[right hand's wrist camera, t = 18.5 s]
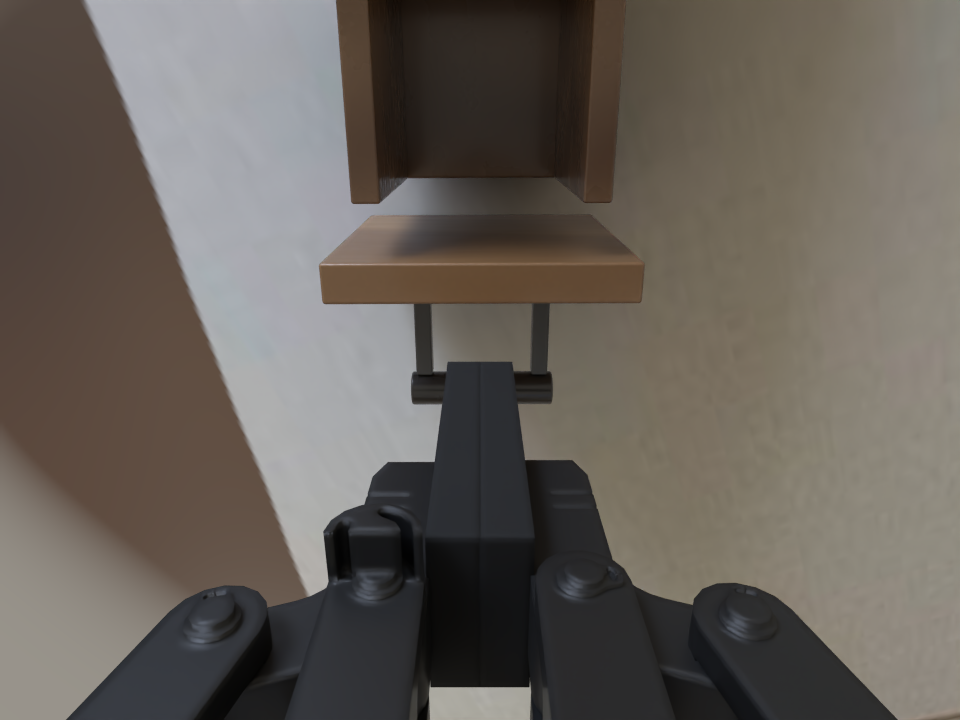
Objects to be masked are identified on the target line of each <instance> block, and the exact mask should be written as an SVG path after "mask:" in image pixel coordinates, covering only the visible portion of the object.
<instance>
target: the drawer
mask: <svg viewBox="0 0 960 720" xmlns="http://www.w3.org/2000/svg"><path fill="white" fill-rule="evenodd" d="M336 6H337V20H338V33H339V46H340V59H341V72H342V86H343V99H344V112H345V125H346V139H347V152H348V165H349V178H350V191H351V202H352V203H353V204H379V203H380V202H381V201H383V200H384V199H385V198H386V197H387V196H388V195H389V194H390V193H392V192H393V191H394V190H395V189H396V188H397V187H398V186H399V185H401V184H402V183H403V182H404V181H405V180H406V179H407V178H556V179H557V180H558V181H560V182H561V183H562V184H563V185H564V186H565V187H567V188H568V189H569V190H570V191H571V192H573V193H574V194H575V195H576V196H577V197H578V198H580V199H581V200H582V201H583V202H585V203H610V202H611V201H612V195H613V181H614V167H615V153H616V139H617V125H618V110H619V96H620V82H621V68H622V54H623V40H624V25H625V11H626V0H336ZM644 269H645V264H644V262H643V261H642V260H641V259H639V258H638V257H637V256H636V255H635V254H634V253H633V252H632V251H631V250H630V249H628V248H627V247H626V246H625V245H624V244H623V243H622V242H621V241H620V240H618V239H617V238H616V237H615V236H614V235H613V234H612V233H611V232H610V231H608V230H607V229H606V228H605V227H604V226H603V225H602V224H601V223H600V222H599V221H597V220H596V219H595V218H594V217H593V216H592V215H389V216H371V217H369V218H368V219H367V220H366V221H365V222H364V223H363V224H362V225H361V226H360V227H359V228H358V229H357V230H356V231H354V232H353V233H352V234H351V235H350V236H349V237H348V238H347V239H346V240H345V241H344V242H343V243H342V244H341V245H339V246H338V247H337V248H336V249H335V250H334V251H333V252H332V253H331V254H330V255H329V256H328V257H327V258H326V259H324V260H323V261H322V262H321V263H320V265H319V270H320V281H321V291H322V301H323V303H324V304H414V320H415V344H416V367H417V372H413V373H412V380H411V397H412V403H413V404H442V403H443V395H444V388H445V380H446V372H447V371H433V369H434V367H433V337H432V306H431V304H508V303H532V321H531V358H530V370H531V371H513V372H514V380H515V388H516V395H517V403H518V404H551V402H552V396H553V381H552V374H551V372H550V371H547V361H548V335H549V308H550V303H640V302H641V300H642V290H643V279H644Z"/></svg>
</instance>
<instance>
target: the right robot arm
mask: <svg viewBox="0 0 960 720" xmlns="http://www.w3.org/2000/svg"><path fill="white" fill-rule="evenodd" d="M323 532H324V542H325V551H326V560H327V570H328V579H329V582H328V585H327V588H325V589H324V590H322V591H320V592H318V593H316V594H314V595H312V596H310V597H307V598H304V599H301V600H298V601H294V602H290V603H285V604H281V605H277V606H273V607H268V608H267V602H266V601H265V599H264V598H263V597H262V596H261V595H260V593H259V592H258V591H255V590H252V589H250V588H247V587H245V586H221V587H216V588H212V589H208V590H204V591H202V592H200V593H197V594H195V595H193V596H191V597H189V598H187V599H185V600H184V601H182V602H181V603H180V604H179V605H177V606H176V607H175V608H174V609H172V610H171V611H170V612H169V613H168V614H167V615H166V616H165V617H164V618H163V619H162V620H161V621H160V622H159V623H158V624H157V625H156V626H155V627H154V628H153V629H152V631H151V632H150V633H149V634H148V635H147V636H146V637H145V638H144V639H143V640H142V641H141V642H140V643H139V644H138V645H137V646H136V647H135V648H134V649H133V650H132V651H131V652H130V654H129V655H128V656H127V657H126V658H125V659H124V660H123V661H122V662H121V663H120V664H119V665H118V666H117V667H116V668H115V669H114V670H113V671H112V672H111V673H110V674H109V675H108V677H107V678H106V679H105V680H104V681H103V682H102V683H101V684H100V685H99V686H98V687H97V688H96V689H95V690H94V691H93V692H92V693H91V694H90V695H89V696H88V697H87V699H86V700H85V701H84V702H83V703H82V704H81V705H80V706H79V707H78V708H77V709H76V710H75V711H74V712H73V713H72V714H71V715H70V716H69V717H68V718H67V719H66V720H430V711H429V687H430V685H431V687H529V685H530V684H531V711H530V720H897V719H896V717H895V716H894V715H893V714H892V713H891V712H890V711H889V710H888V709H887V708H886V707H885V706H884V705H883V704H882V703H881V702H880V701H879V700H878V699H877V698H876V697H875V696H874V695H873V694H872V693H871V692H870V690H869V689H868V688H867V687H866V686H865V685H864V684H863V683H862V682H861V681H860V680H859V679H858V678H857V677H856V676H855V675H854V674H853V673H852V672H851V671H850V670H849V669H848V668H847V667H846V666H845V664H844V663H843V662H842V661H841V660H840V659H839V658H838V657H837V656H836V655H835V654H834V653H833V652H832V651H831V650H830V649H829V648H828V647H827V646H826V645H825V644H824V643H823V642H822V641H821V640H820V638H819V637H818V636H817V635H816V634H815V633H814V632H813V631H812V630H811V629H810V628H809V627H808V626H807V625H806V624H805V623H804V622H803V621H802V620H801V619H800V618H799V617H798V616H797V615H796V614H795V612H794V611H793V610H792V609H790V608H789V607H788V606H787V605H785V604H784V603H783V602H782V601H780V600H779V599H778V598H776V597H775V596H773V595H771V594H769V593H767V592H764V591H762V590H760V589H758V588H756V587H751V586H747V585H742V584H738V583H717V584H714V585H712V586H709V587H706V588H704V589H702V590H701V591H700V593H699V594H698V595H697V596H696V597H695V598H694V602H693V605H690V604H685V603H681V602H677V601H673V600H669V599H664V598H661V597H658V596H655V595H652V594H649V593H647V592H645V591H643V590H641V589H639V588H637V587H635V586H634V585H633V584H632V581H631V579H630V578H629V576H628V575H627V573H626V571H625V570H624V568H622V567H621V566H620V565H619V564H617V563H616V562H615V561H613V559H612V556H611V553H610V549H609V546H608V542H607V539H606V536H605V532H604V529H603V526H602V522H601V519H600V516H599V512H598V509H596V502H595V499H594V496H593V495H592V489H591V486H590V482H589V479H588V475H587V474H586V473H585V472H584V471H583V470H582V469H581V468H580V467H579V466H578V465H577V464H575V463H574V462H573V461H572V460H525V457H524V449H523V441H522V434H521V426H520V418H519V411H518V403H517V395H516V388H515V380H514V372H513V365H512V362H448V365H447V372H446V380H445V388H444V395H443V403H442V411H441V418H440V426H439V434H438V441H437V449H436V457H435V462H388V463H387V464H386V465H385V466H383V467H382V468H381V469H380V470H379V471H378V472H377V473H376V474H375V475H374V476H373V478H372V481H371V485H370V488H369V491H368V497H367V498H366V501H365V505H361V506H358V507H355V508H352V509H349V510H346V511H344V512H343V513H341V514H340V515H338V516H337V517H335V518H334V519H332V520H331V521H330V523H329V524H328V526H327V527H326V529H325V530H324V531H323Z"/></svg>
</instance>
